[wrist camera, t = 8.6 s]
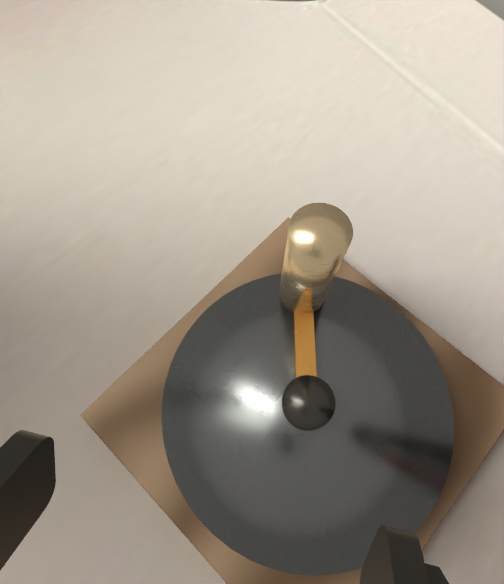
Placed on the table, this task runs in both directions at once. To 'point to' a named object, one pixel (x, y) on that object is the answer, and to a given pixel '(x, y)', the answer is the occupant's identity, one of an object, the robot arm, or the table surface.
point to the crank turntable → (307, 412)
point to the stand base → (149, 437)
